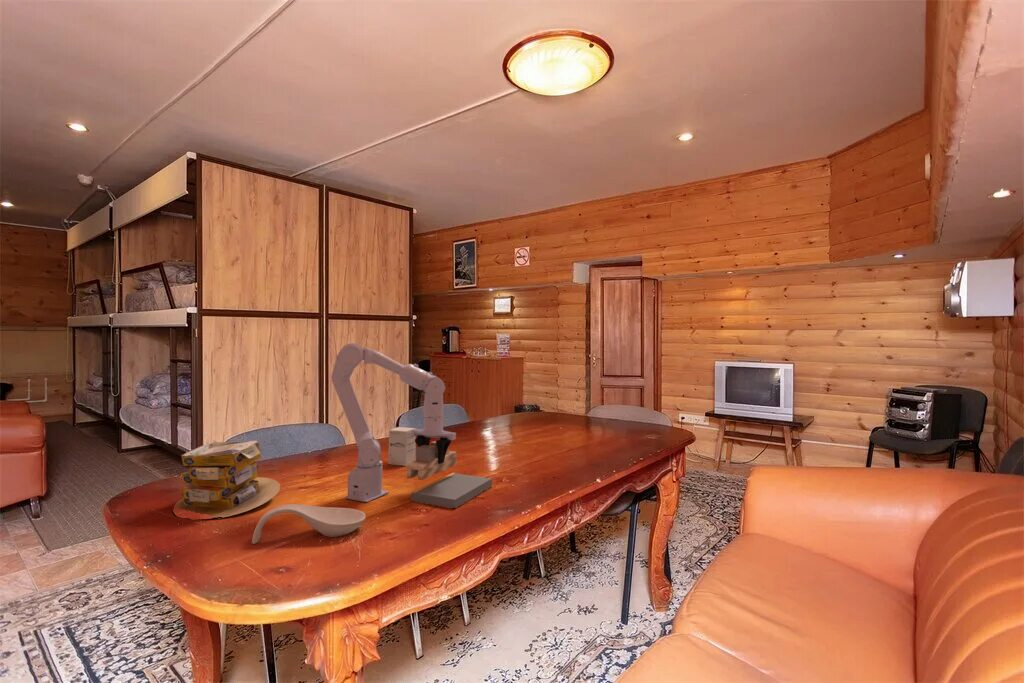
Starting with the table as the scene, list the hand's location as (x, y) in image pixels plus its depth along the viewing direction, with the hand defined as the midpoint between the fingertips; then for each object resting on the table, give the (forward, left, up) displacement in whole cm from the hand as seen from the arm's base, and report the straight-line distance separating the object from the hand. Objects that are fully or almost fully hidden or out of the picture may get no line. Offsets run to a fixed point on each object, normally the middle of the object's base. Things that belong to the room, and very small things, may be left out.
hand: (433, 461), depth 142 cm
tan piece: (0, 0, -3) cm, 3 cm away
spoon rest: (-40, +7, -9) cm, 41 cm away
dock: (0, -7, -8) cm, 11 cm away
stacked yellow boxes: (-34, +43, -9) cm, 55 cm away
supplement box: (+22, +28, -9) cm, 36 cm away
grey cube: (-4, 0, +1) cm, 4 cm away
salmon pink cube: (+4, 0, +1) cm, 4 cm away
